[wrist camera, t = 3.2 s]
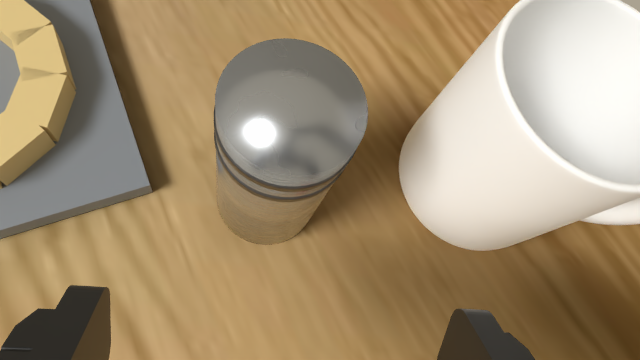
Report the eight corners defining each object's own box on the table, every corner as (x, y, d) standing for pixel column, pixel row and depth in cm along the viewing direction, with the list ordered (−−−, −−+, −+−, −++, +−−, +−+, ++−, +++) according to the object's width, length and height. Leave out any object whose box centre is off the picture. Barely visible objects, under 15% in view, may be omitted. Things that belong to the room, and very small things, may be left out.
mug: (601, 176, 28) (797, 85, 18) (580, 309, 25) (803, 280, 15) (419, 90, 28) (524, -49, 18) (372, 214, 24) (470, 124, 15)
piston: (293, 140, 25) (333, 24, 16) (329, 225, 24) (394, 149, 15) (202, 168, 23) (191, 56, 15) (235, 260, 22) (245, 198, 13)
